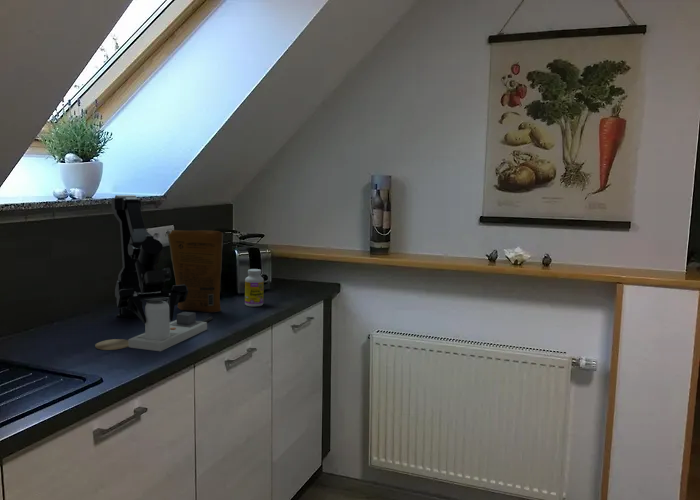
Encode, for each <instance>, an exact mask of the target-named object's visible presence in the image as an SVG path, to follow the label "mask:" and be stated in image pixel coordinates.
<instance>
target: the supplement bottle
mask: <svg viewBox="0 0 700 500" xmlns="http://www.w3.org/2000/svg"><path fill="white" fill-rule="evenodd" d="M247 275H248V276H247V277H245V279H244V282H245V283H244V305H245V306H246V307H250V308H251V307H256V308H257V307H261V306H263V304H264V289H265V288H264V287H265V285H264V283H265V282H264V280H265V279H264V277H263V276H261V275H262V269H260V268H259V269H258V268H250V269H248V270H247Z"/></svg>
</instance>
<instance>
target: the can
mask: <svg viewBox="0 0 700 500" xmlns="http://www.w3.org/2000/svg"><path fill="white" fill-rule="evenodd" d="M144 314H145V318H146V323H145V324H144V326H145V327H144V329H145V331H144V333H145V339H150V340H158V341H163V340H165V339H167V338H169V337H170V322H171V320H170V316H169V305H168V299H166V298H160V299H149V300H147V301H146V304H145V306H144Z"/></svg>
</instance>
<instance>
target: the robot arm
mask: <svg viewBox="0 0 700 500" xmlns="http://www.w3.org/2000/svg"><path fill="white" fill-rule="evenodd" d="M110 203H111V210H113V215H114V217H115V218H116V220H117V221H118V222H119V229H120V230H119V231H120V245H121V260H122V261H121V263H122V268H121V269H120V271H119V273H118V275H117V277H118V278H117V280H116V283H115V287H114V288H115V289H114V297H115V298H116V306H117V308H118V312H119V313H118V314H116V315H115V316H116V317H117V318H118V317H119V318H127V319H134V318H139V320H140V321H141V322H142V323H143V324H144V325H145V323H146V318H145V310H144V309H143V302H142V301H143V300H144V301H145V300H147V301H148V300H153V299H167V301H168V302H167V303H168V305H169V316H170V322H173V321H174V320H173V319H174V312H175V306H178V303H181V302H184V301H185V299H186V297H187V294H188V288H187V286H186V285H184V284H183V285H176V284H174V285H173V284H172V285H171V286H172V287H171V288H170V290H163V289H164V288H165V282H166V281H170V280H171V279H172V271H171V268H170V267H164V268H162V269H158V266H157V264H158V263H159V262H160V259H161V254H162V251H163V248H164V247H163V243H161V241H159V240H158V239H157V238H154V236H153V235H152V234H151V233H150V232H148V231H147V228H146V224H145V221H144V217H143V213H142V208H143V207H142V205H143V204H142V198H140V197H139V198H138V197H137V196H136V195H135V194H131V195H130V194H125V195H124V194H115V196H114V198H111V201H110Z"/></svg>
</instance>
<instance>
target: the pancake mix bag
mask: <svg viewBox="0 0 700 500" xmlns="http://www.w3.org/2000/svg"><path fill="white" fill-rule="evenodd" d="M167 233H168V234H167V239H168V245H169V250H170V259H171V263H172V270H173V275H174V279H175V285H183V284H184V285H186V286H187V288H188V294H187V297H186V299H185V301H184V302H181V303H178V304H177V309H179V310H180V311H186V312H203V313H218V312H222V308H221V299H220V298H221V297H220V295H221V293H220V291H221V276H222V269H223V266H222V265H223V264H222V263H223V247H224V245H223V244H224V243H223V242H224V241H223V240H224V232H222V231H220V230H209V229H207V230H206V229H198V230H197V229H194V230H192V229H191V230H186V229H184V230H183V229H182V230H181V229H179V230H178V229H173V230H171V232H167Z"/></svg>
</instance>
